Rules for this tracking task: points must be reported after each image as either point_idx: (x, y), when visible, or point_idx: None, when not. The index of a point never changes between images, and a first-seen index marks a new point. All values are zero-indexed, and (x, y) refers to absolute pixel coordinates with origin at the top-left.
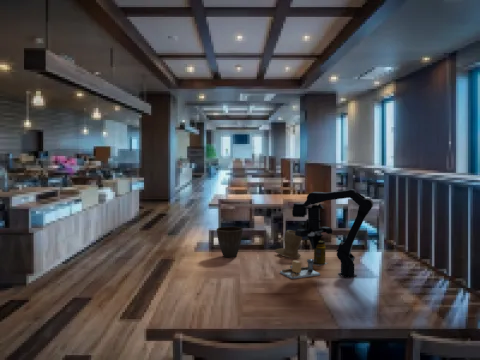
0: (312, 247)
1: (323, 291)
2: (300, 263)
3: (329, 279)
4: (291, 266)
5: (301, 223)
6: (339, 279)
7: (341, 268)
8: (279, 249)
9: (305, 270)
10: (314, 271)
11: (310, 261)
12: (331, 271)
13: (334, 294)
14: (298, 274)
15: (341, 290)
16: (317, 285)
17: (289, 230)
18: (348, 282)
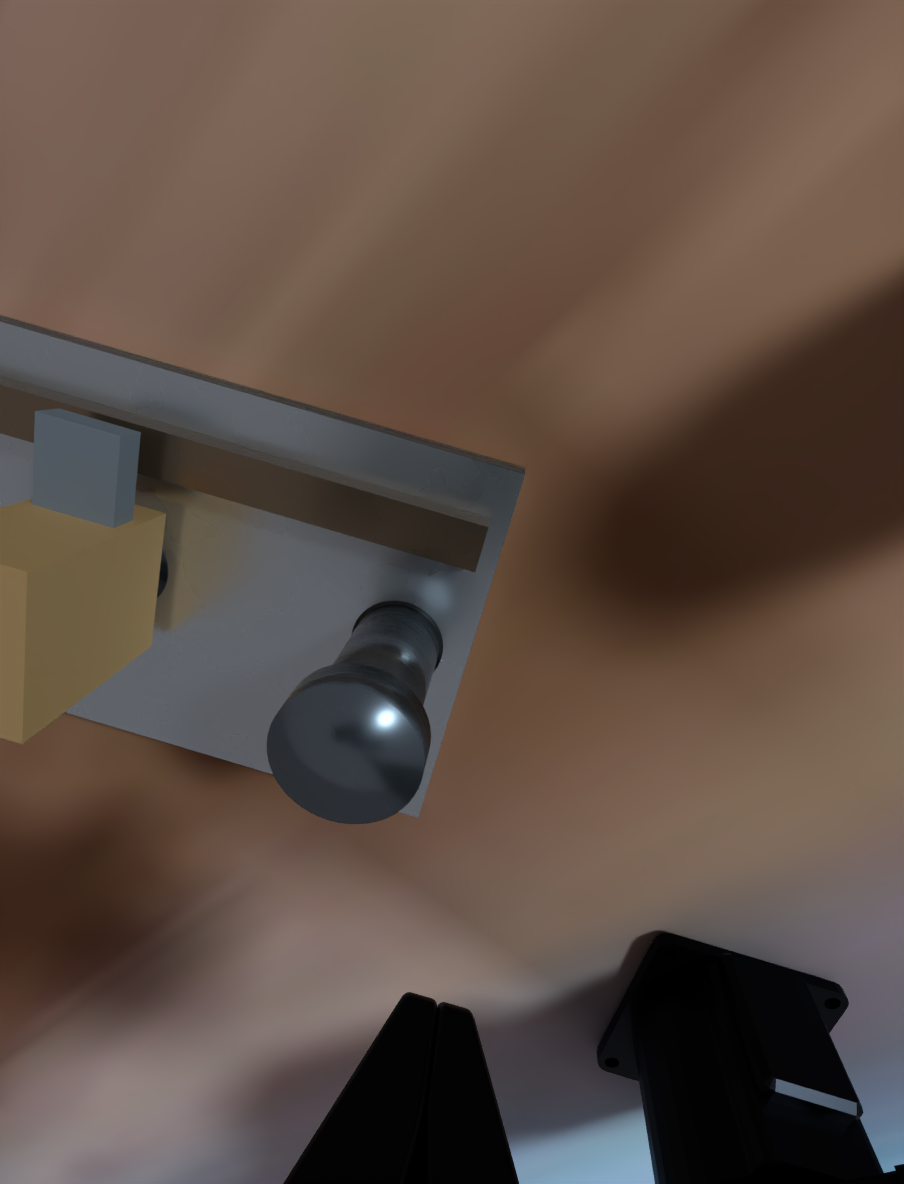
0: (385, 1025)
1: (36, 1092)
2: (31, 725)
3: (379, 958)
4: (36, 457)
5: None
6: (479, 1026)
7: (719, 1040)
8: None
9: (342, 577)
10: (424, 708)
11: (297, 786)
12: (744, 788)
13: (73, 1172)
14: None
15: (202, 1169)
16: (99, 981)
17: None
18: None
